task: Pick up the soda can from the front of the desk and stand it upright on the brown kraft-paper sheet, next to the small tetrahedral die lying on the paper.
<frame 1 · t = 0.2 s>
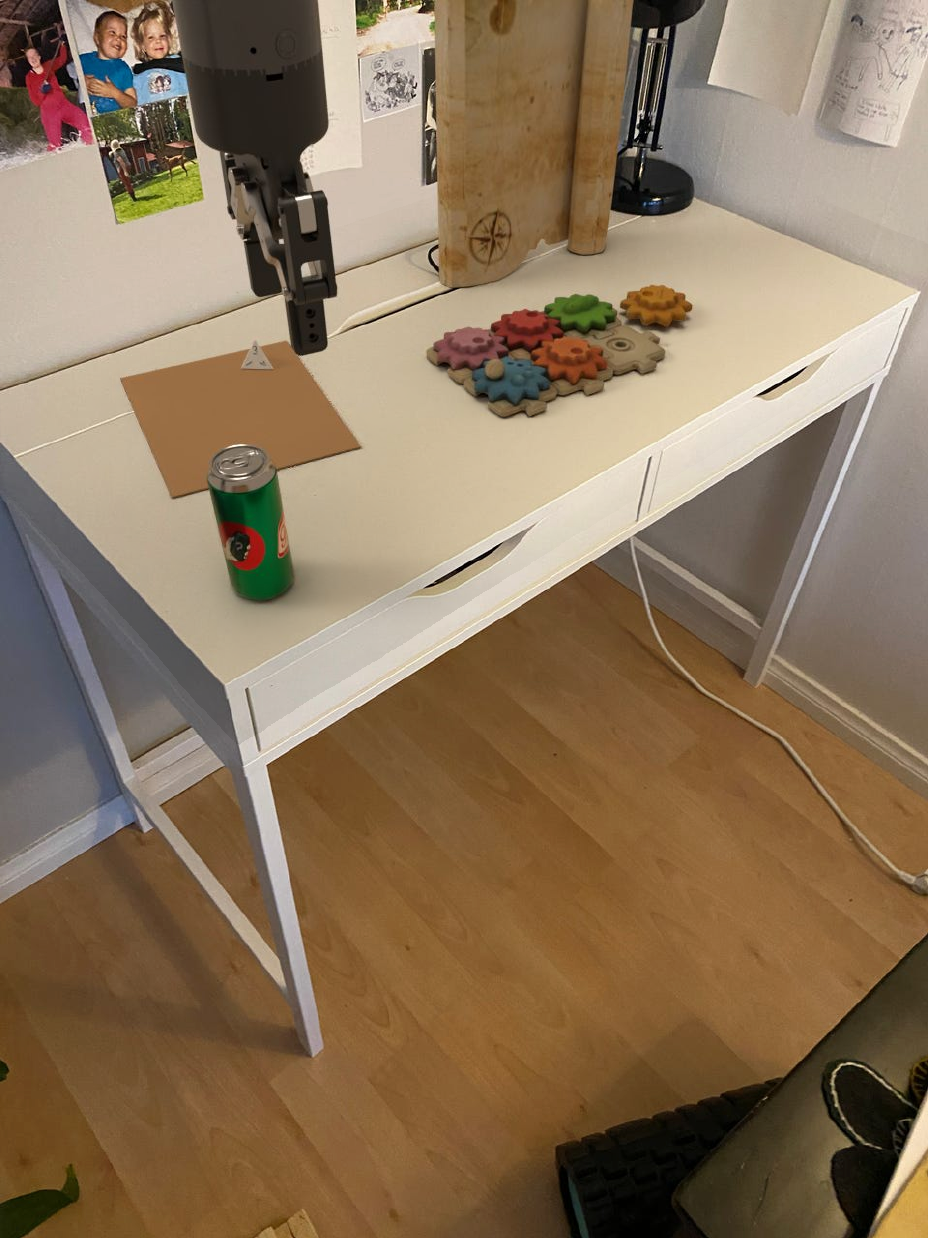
hand: (288, 320, 63), 22 cm above the table, tool pointing down, fingers open, 8 cm apart
kraft paper: (235, 412, 95), on the table
tetrahedral die: (262, 367, 101), resting on kraft paper
soda can: (263, 584, 77), on the table
gear puzzle: (580, 349, 104), on the table
parchment: (521, 263, 119), on the table
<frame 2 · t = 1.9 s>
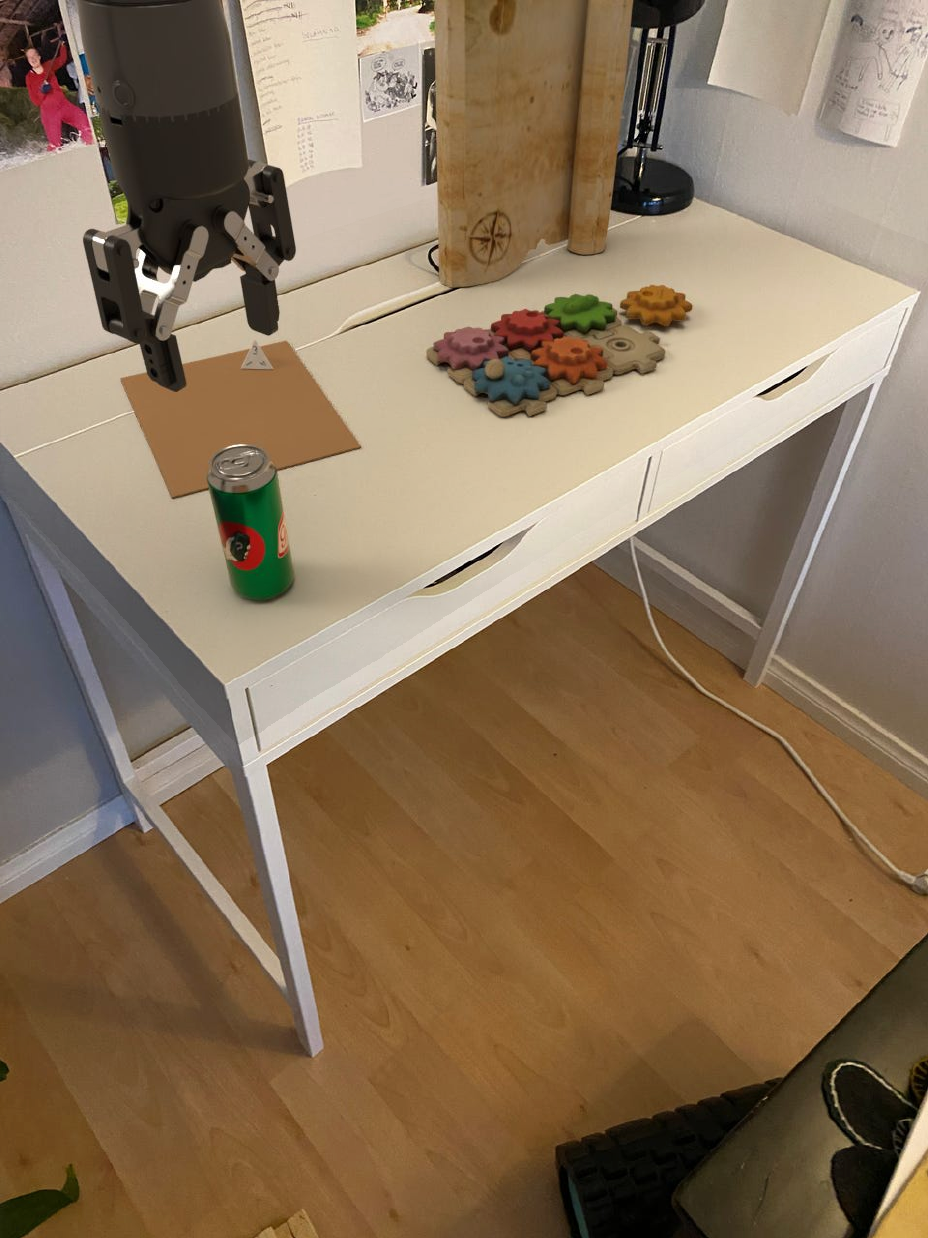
hand: (219, 357, 63), 20 cm above the table, tool pointing down, fingers open, 8 cm apart
nothing on the table moved.
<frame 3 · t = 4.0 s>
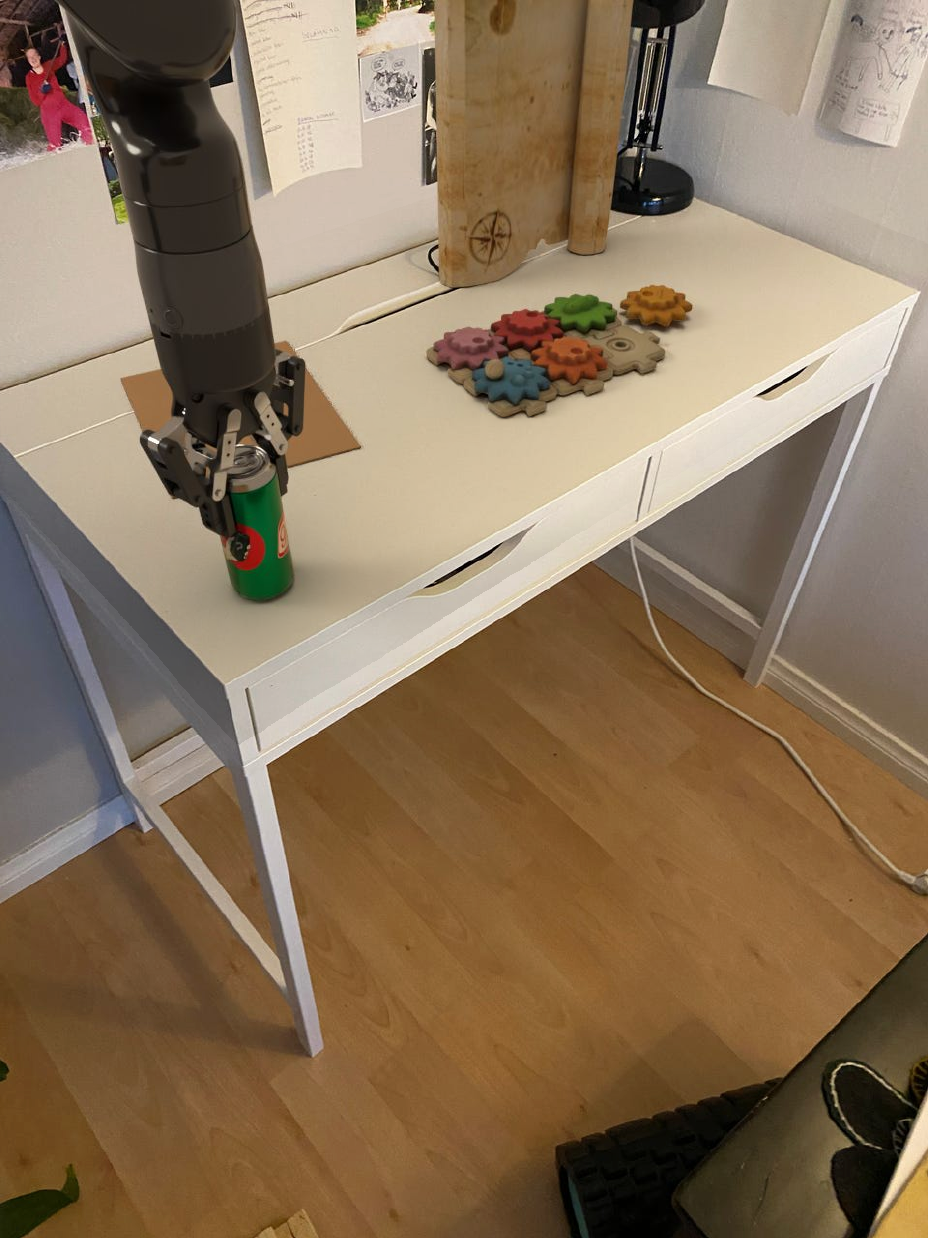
hand: (248, 510, 72), 7 cm above the table, tool pointing down, fingers closed on soda can, 5 cm apart
soda can: (263, 584, 77), on the table, touching gripper
everything else where it was.
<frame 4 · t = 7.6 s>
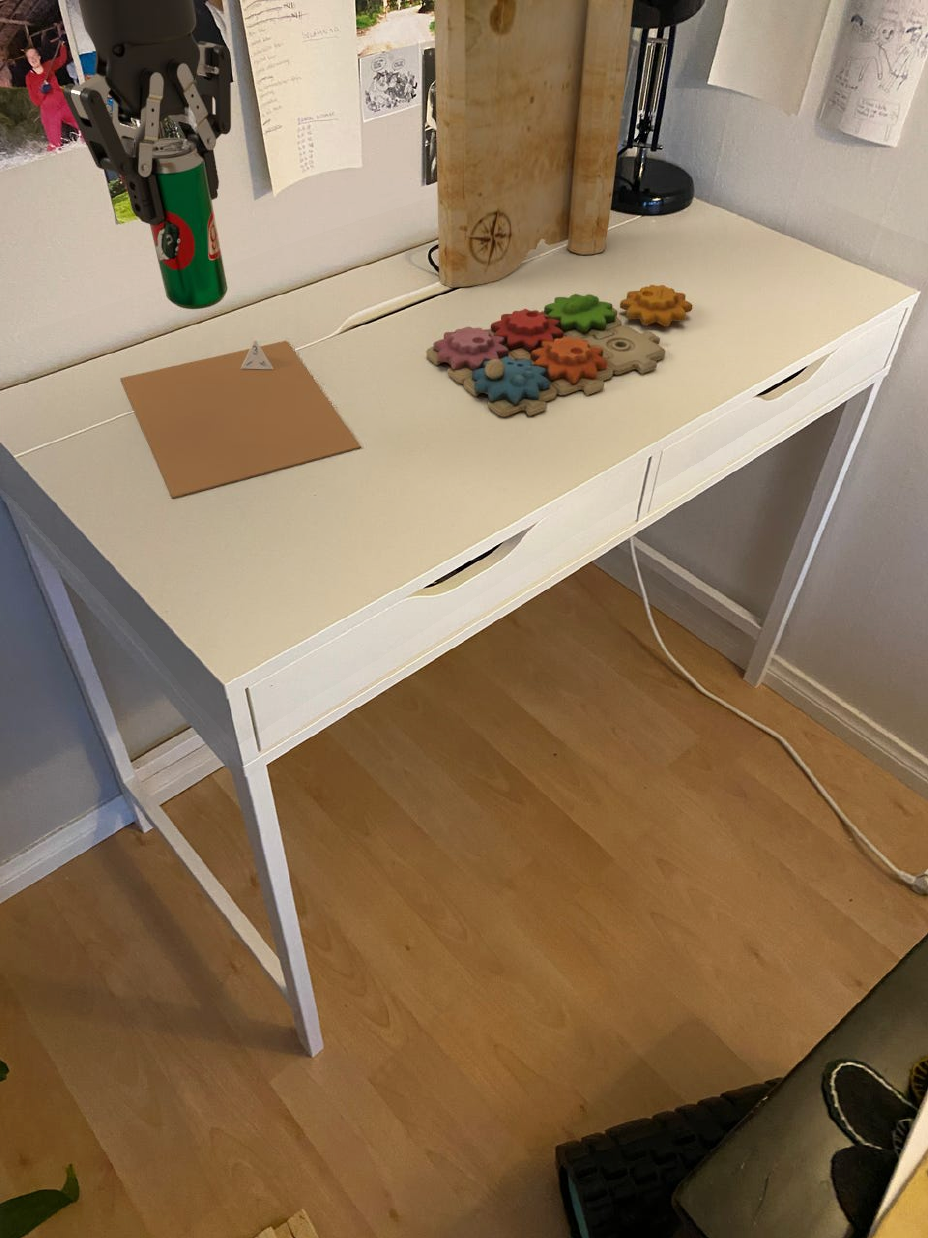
hand: (179, 208, 75), 22 cm above the table, tool pointing down, fingers closed on soda can, 5 cm apart
soda can: (198, 299, 80), point 15 cm above the table, touching gripper
everything else where it was.
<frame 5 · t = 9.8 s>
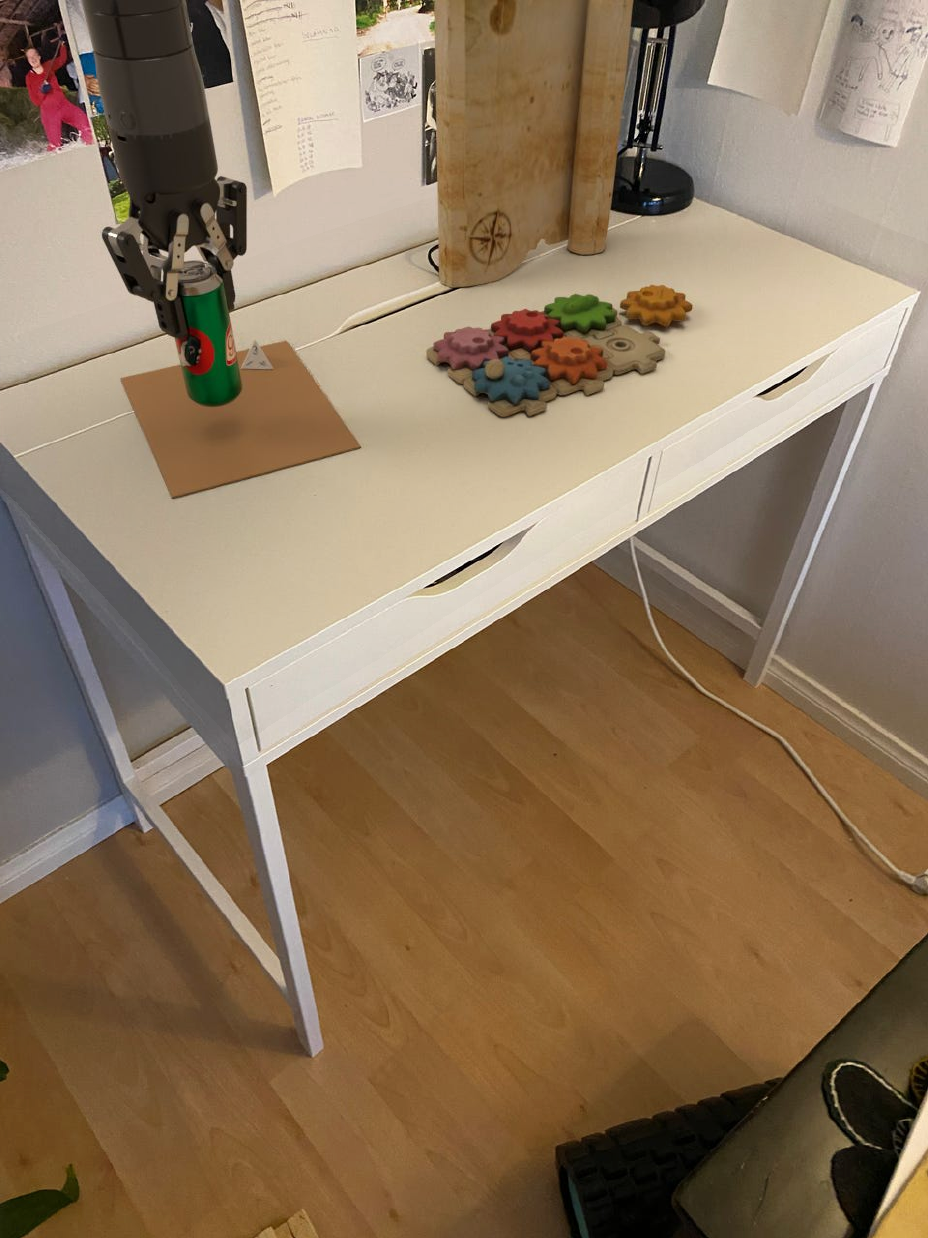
hand: (200, 321, 84), 12 cm above the table, tool pointing down, fingers closed on soda can, 5 cm apart
soda can: (216, 396, 89), point 4 cm above the table, touching gripper
everything else where it was.
when the fingers open (8 cm above the table, at t = 11.3 s): soda can stays where it is, resting on kraft paper.
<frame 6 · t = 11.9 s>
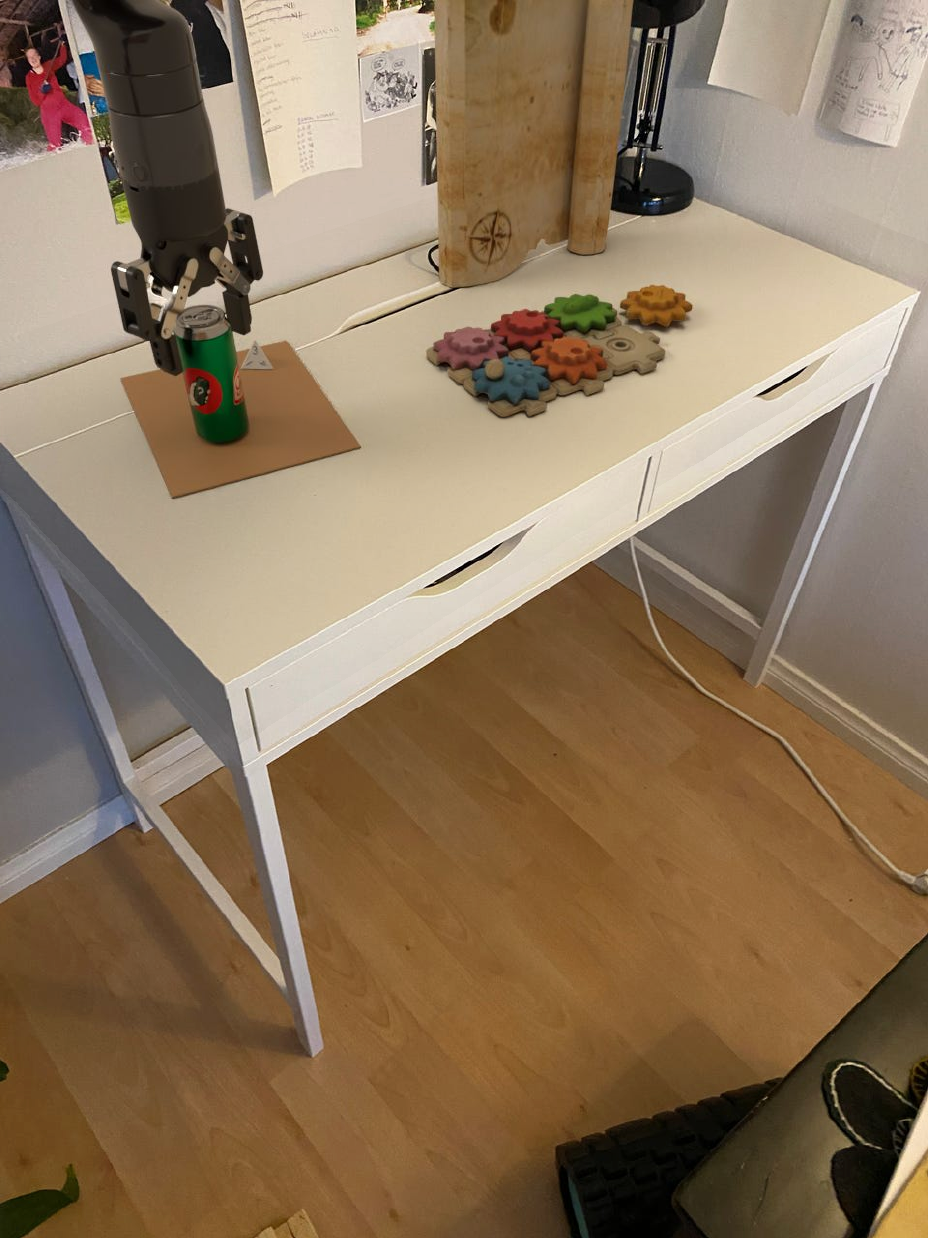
hand: (207, 351, 86), 9 cm above the table, tool pointing down, fingers open, 8 cm apart
soda can: (223, 433, 92), resting on kraft paper
everything else where it was.
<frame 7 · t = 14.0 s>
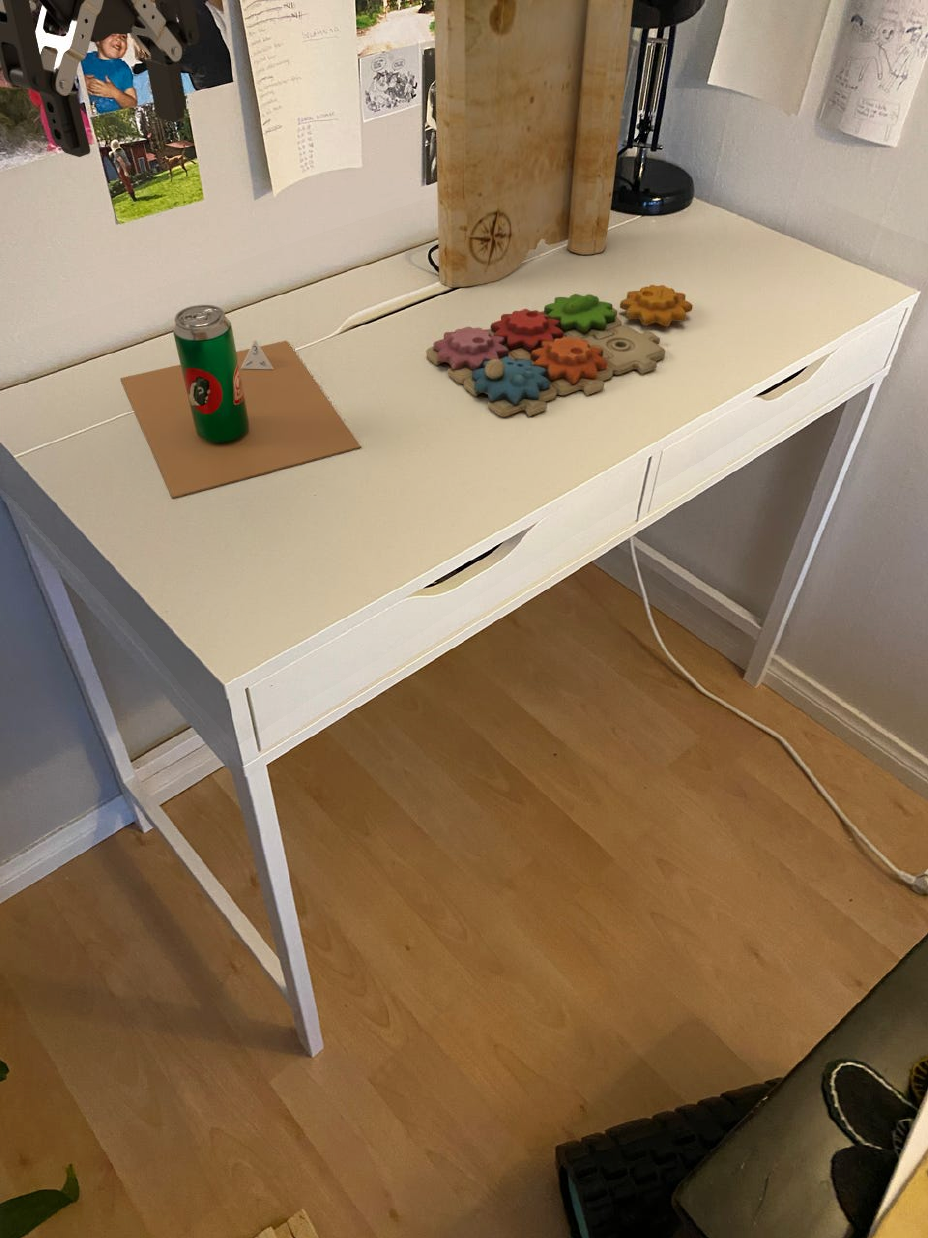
hand: (125, 135, 66), 29 cm above the table, tool pointing down, fingers open, 8 cm apart
nothing on the table moved.
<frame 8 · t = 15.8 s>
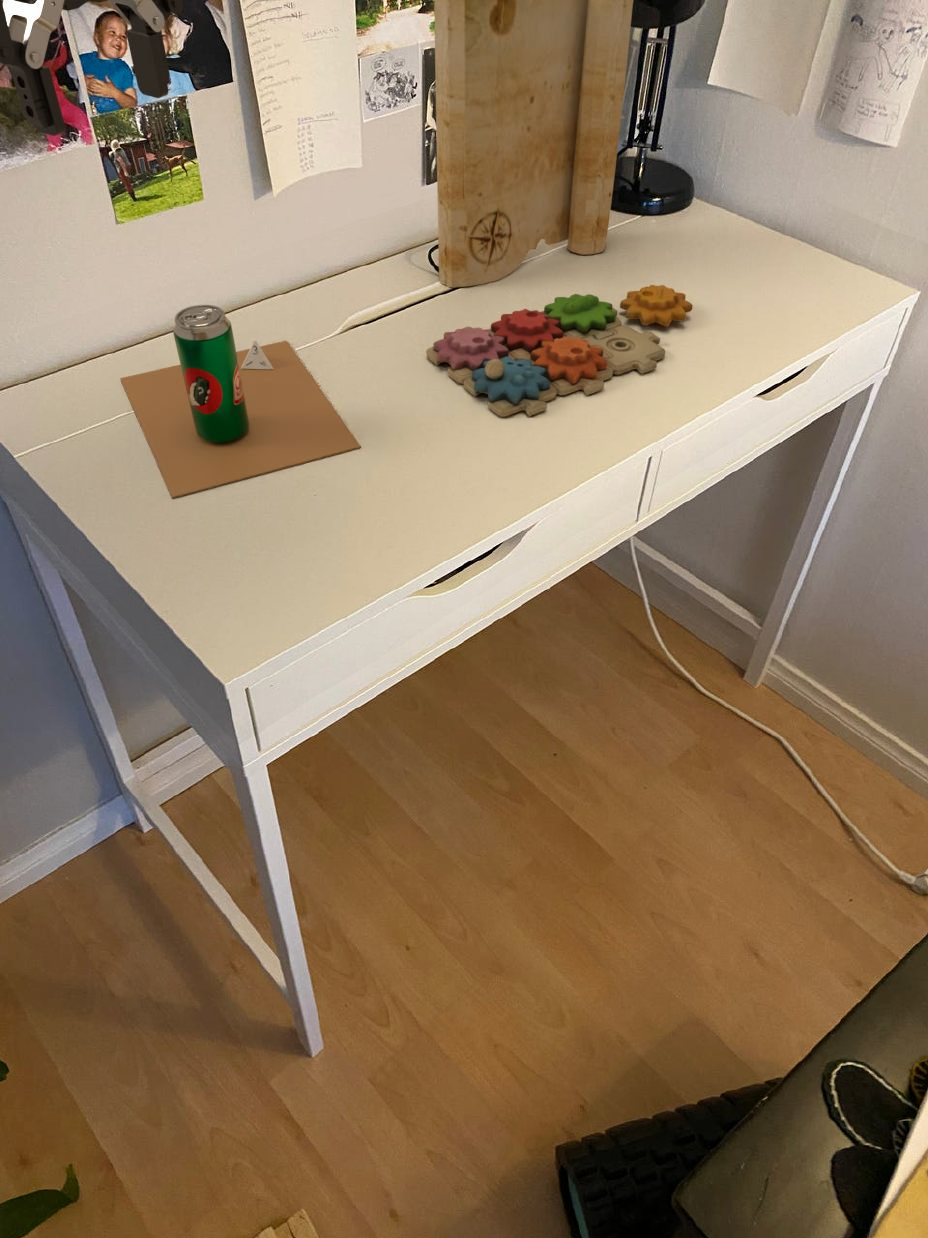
hand: (104, 112, 61), 32 cm above the table, tool pointing down, fingers open, 8 cm apart
nothing on the table moved.
at the end: soda can inside the target area on the kraft paper (3.7 cm from its centre), point 0.0 cm above the kraft paper's base; soda can tilted 0°; the gripper is holding nothing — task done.
